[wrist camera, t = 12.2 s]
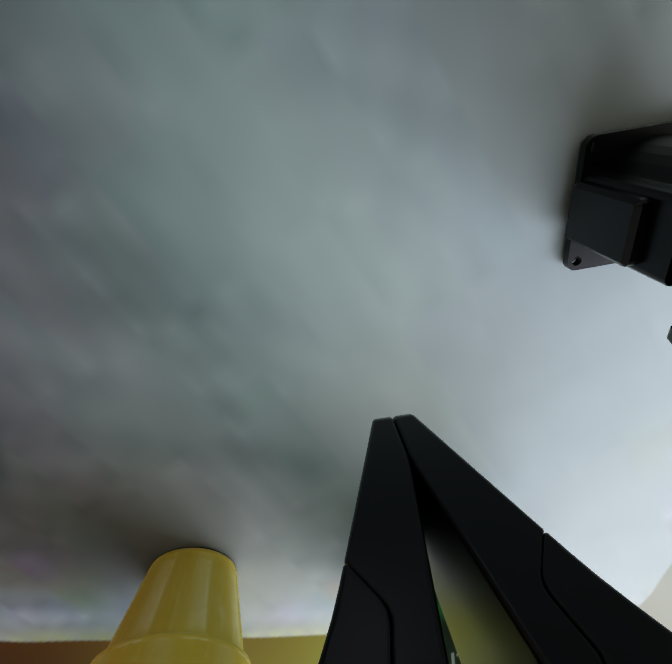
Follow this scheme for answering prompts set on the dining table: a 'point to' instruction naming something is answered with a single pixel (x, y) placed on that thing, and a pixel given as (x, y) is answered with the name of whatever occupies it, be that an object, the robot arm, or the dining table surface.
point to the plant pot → (182, 614)
